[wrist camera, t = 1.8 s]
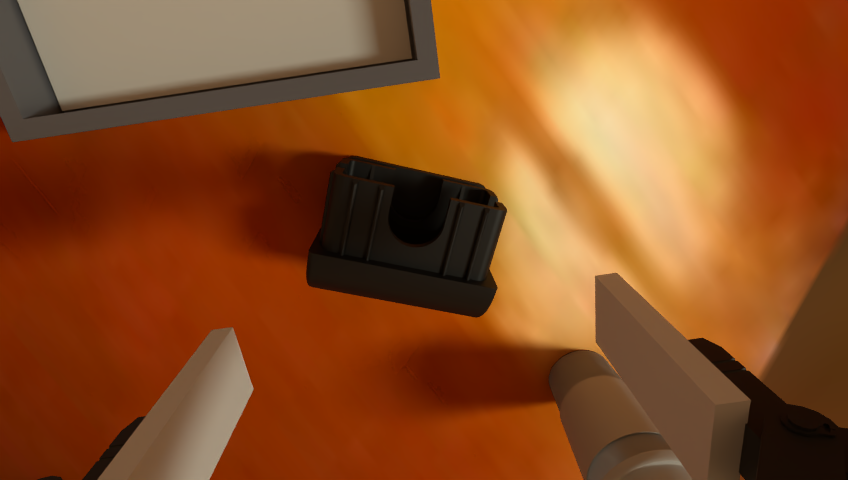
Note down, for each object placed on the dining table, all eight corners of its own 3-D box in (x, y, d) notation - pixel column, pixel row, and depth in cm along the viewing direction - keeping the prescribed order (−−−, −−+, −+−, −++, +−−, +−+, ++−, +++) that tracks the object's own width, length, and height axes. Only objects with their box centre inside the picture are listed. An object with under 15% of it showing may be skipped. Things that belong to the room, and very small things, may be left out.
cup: (522, 355, 33) (585, 499, 22) (609, 322, 32) (721, 453, 21) (550, 425, 35) (620, 588, 24) (632, 396, 35) (743, 549, 23)
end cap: (321, 256, 30) (299, 306, 23) (338, 151, 27) (320, 174, 21) (466, 284, 31) (482, 338, 25) (494, 186, 29) (521, 218, 22)
